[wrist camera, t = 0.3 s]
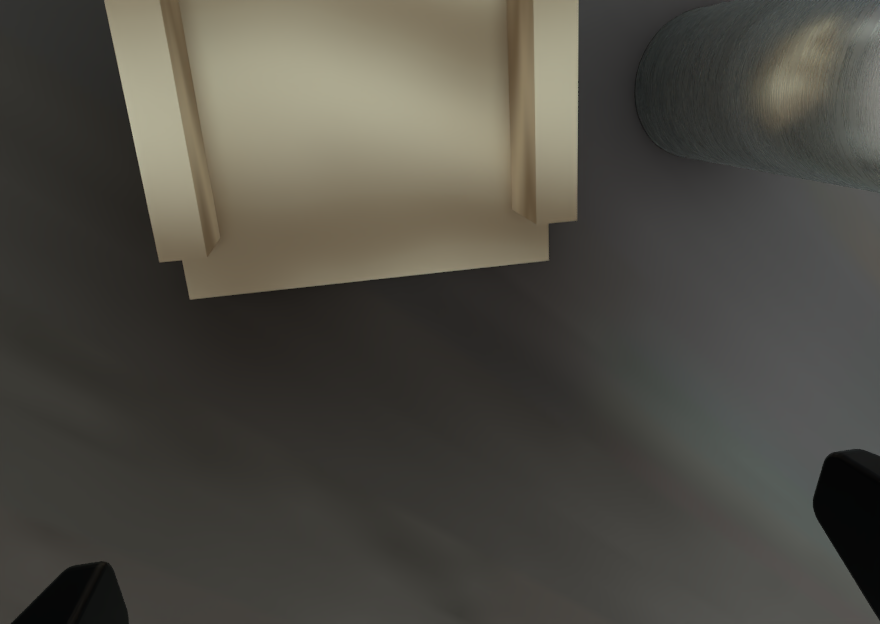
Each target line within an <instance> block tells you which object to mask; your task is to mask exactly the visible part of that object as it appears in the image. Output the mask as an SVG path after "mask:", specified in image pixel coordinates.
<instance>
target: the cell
mask: <svg viewBox="0 0 880 624" xmlns="http://www.w3.org/2000/svg"><path fill="white" fill-rule="evenodd" d="M635 103H636V108H637V113H638V116H639V119H640V122H641V124H642V126H643V128H644V130H645V132H646V133H647V134H648V136H649V137H650V138H651V139H652V141H653V142H654V143H655V144H657V145H658V146H659V147H660V148H661V149H663V150H665V151H667V152H668V153H671V154H673V155H676V156H680V157H685V158H691V159H696V160H702V161H707V162H713V163H718V164H724V165H729V166H735V167H740V168H746V169H751V170H757V171H762V172H768V173H773V174H779V175H784V176H790V177H795V178H801V179H806V180H812V181H817V182H823V183H828V184H834V185H839V186H845V187H850V188H856V189H861V190H867V191H872V192H878V193H880V0H734V1H729V2H725V3H720V4H715V5H711V6H706V7H702V8H697V9H693V10H690V11H687V12H685V13H683V14H681V15H679V16H677V17H675V18H674V19H673V20H671V21H670V22H668V23H667V24H666V25H665V26H664V27H663V28H662V29H661V30H660V31H659V32H658V33H657V34H656V35H655V36H654V38H653V39H652V41H651V42H650V44H649V45H648V47H647V49H646V51H645V52H644V54H643V57H642V59H641V62H640V64H639V68H638V72H637V76H636V82H635Z"/></svg>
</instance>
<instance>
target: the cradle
mask: <svg viewBox="0 0 880 624" xmlns="http://www.w3.org/2000/svg"><path fill="white" fill-rule="evenodd" d="M104 1H105V6H106V11H107V16H108V20H109V25H110V30H111V35H112V39H113V44H114V49H115V54H116V58H117V63H118V68H119V73H120V78H121V82H122V87H123V92H124V97H125V101H126V106H127V111H128V116H129V120H130V125H131V130H132V135H133V139H134V144H135V149H136V154H137V158H138V163H139V168H140V173H141V177H142V182H143V187H144V192H145V196H146V201H147V206H148V211H149V215H150V220H151V225H152V230H153V234H154V239H155V244H156V249H157V253H158V258H159V262H169V261H179V260H182V262H183V267H184V272H185V277H186V282H187V287H188V293H189V298H190V300H191V299H200V298H209V297H218V296H227V295H237V294H246V293H255V292H264V291H273V290H282V289H292V288H301V287H310V286H319V285H328V284H338V283H347V282H356V281H365V280H374V279H384V278H393V277H402V276H411V275H420V274H429V273H439V272H448V271H457V270H466V269H475V268H485V267H494V266H503V265H512V264H521V263H530V262H540V261H549V226H548V223H558V222H568V221H577V156H578V0H104Z"/></svg>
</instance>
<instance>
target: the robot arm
mask: <svg viewBox="0 0 880 624" xmlns="http://www.w3.org/2000/svg"><path fill="white" fill-rule="evenodd" d="M813 508H814V512H815V515H816V518H817V520H818V521H819V523H820V525H821V526H822V528H823V529H824V531H825V533H826V534H827V536H828V538H829V539H830V541H831V543H832V544H833V546H834V547H835V549H836V551H837V552H838V554H839V556H840V557H841V559H842V560H843V562H844V564H845V565H846V567H847V569H848V570H849V572H850V574H851V575H852V577H853V578H854V580H855V582H856V583H857V585H858V587H859V588H860V590H861V591H862V593H863V595H864V596H865V598H866V600H867V601H868V603H869V605H870V606H871V608H872V609H873V611H874V612H875V614H876V616H877V617H878V619H879V620H880V456H878V455H875V454H873V453H870V452H868V451H865V450H861V449H852V450H845V451H838V452H833V453H831V454H829V455H828V456H827V457H826V459H825V461H824V463H823V466H822V470H821V473H820V477H819V480H818V483H817V487H816V490H815V494H814V497H813ZM11 624H129V619H128V612H127V608H126V605H125V602H124V599H123V596H122V593H121V590H120V587H119V585H118V582H117V579H116V576H115V573H114V570H113V568H112V566H111V565H110V564H109V563H107V562H103V561H101V562H94V563H88V564H81V565H74V566H71V567H69V568H67V569H66V570H65V571H63V572H62V573H61V574H60V575H59V576H58V577H57V578H56V579H55V580H54V581H53V582H52V583H51V584H50V585H49V586H48V587H47V588H46V589H45V590H44V591H43V592H42V593H41V594H40V595H39V596H38V597H37V598H36V599H35V600H34V601H33V602H32V603H31V604H30V605H29V606H28V607H27V608H26V609H25V610H24V611H23V612H22V613H21V614H20V615H19V616H18V617H17V618H16V619H15V620H14V621H13V622H12V623H11Z"/></svg>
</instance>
